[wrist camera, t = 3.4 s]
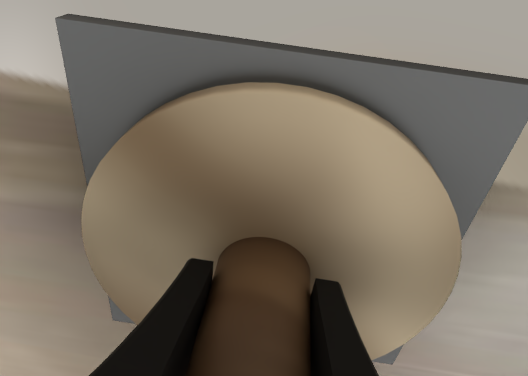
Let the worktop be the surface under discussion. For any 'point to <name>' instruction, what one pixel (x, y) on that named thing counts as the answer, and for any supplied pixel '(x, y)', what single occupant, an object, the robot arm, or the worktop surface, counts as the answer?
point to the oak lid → (272, 222)
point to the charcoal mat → (300, 74)
